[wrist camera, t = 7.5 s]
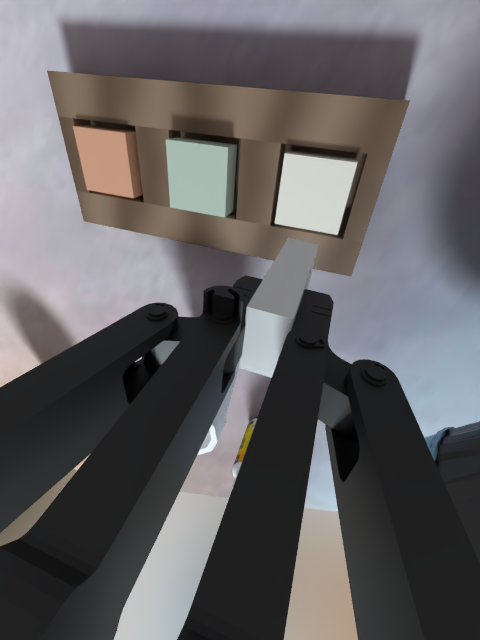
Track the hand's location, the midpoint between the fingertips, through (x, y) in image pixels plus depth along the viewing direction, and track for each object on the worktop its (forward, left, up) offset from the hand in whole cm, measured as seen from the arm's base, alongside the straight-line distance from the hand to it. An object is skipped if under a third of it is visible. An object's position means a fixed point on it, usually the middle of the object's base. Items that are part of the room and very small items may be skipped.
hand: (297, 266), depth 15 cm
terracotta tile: (+19, -1, -12) cm, 22 cm away
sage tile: (+10, -1, -11) cm, 15 cm away
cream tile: (+1, -1, -12) cm, 12 cm away
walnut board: (+10, -1, -14) cm, 17 cm away
